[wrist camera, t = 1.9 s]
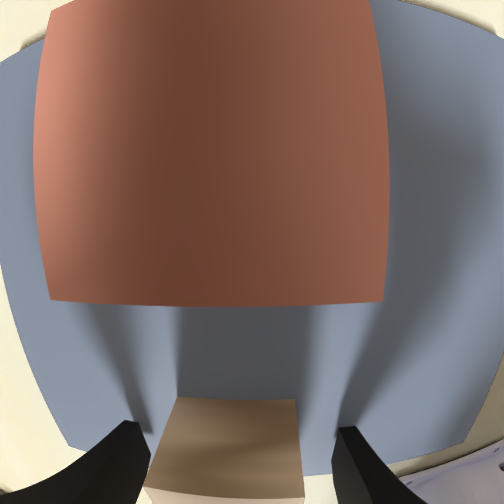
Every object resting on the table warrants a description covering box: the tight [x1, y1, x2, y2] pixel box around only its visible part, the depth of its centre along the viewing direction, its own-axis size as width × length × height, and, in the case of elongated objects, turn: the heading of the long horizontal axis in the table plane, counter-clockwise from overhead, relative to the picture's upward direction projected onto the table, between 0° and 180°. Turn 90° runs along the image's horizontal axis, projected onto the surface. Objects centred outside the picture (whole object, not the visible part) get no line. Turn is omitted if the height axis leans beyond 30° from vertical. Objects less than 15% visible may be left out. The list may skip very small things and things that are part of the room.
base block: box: [33, 0, 390, 307], centre depth 6 cm, size 6×6×4 cm
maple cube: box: [143, 397, 305, 504], centre depth 8 cm, size 4×4×4 cm
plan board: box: [0, 0, 504, 476], centre depth 9 cm, size 20×18×1 cm
